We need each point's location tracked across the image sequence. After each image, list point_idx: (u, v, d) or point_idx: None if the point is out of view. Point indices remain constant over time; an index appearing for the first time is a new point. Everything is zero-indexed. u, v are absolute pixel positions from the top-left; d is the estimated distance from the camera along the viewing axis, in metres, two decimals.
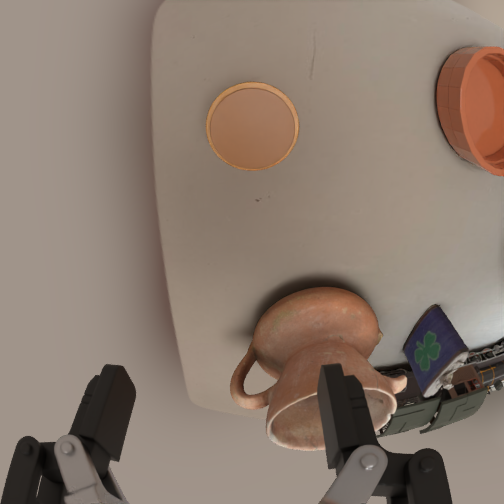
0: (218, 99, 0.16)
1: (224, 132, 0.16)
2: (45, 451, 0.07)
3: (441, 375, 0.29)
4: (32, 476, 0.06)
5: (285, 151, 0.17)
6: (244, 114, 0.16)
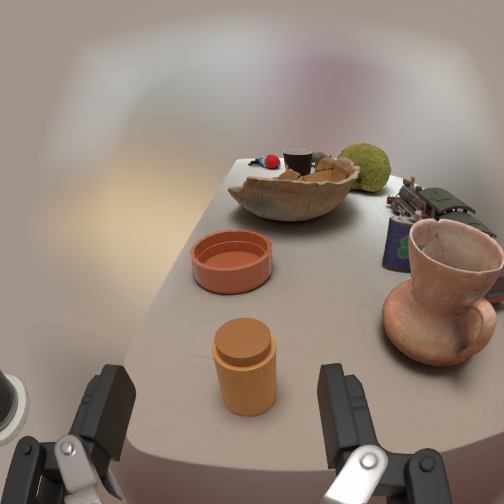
0: (221, 362, 0.24)
1: (243, 350, 0.24)
2: (45, 451, 0.07)
3: None
4: (32, 476, 0.06)
5: (259, 321, 0.27)
6: (232, 340, 0.25)
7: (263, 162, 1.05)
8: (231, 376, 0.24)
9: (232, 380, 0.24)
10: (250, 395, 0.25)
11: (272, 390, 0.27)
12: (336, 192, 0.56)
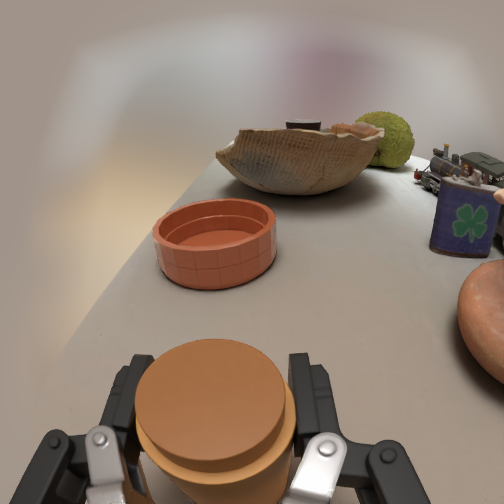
0: (151, 453, 0.08)
1: (205, 435, 0.07)
2: (74, 444, 0.07)
3: (475, 186, 0.26)
4: (55, 471, 0.06)
5: (252, 349, 0.10)
6: (178, 400, 0.08)
7: None
8: (181, 484, 0.07)
9: (186, 488, 0.08)
10: None
11: (282, 485, 0.10)
12: (360, 152, 0.40)
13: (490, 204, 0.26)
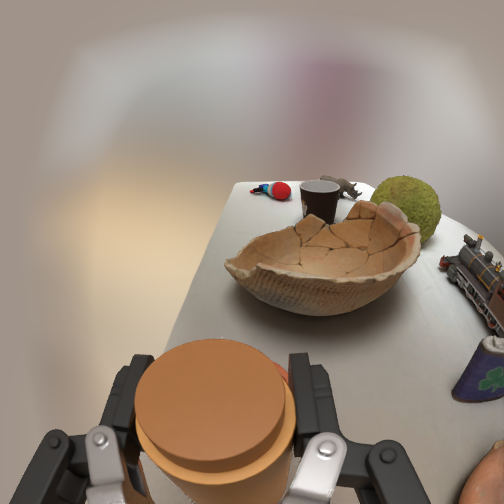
0: (151, 453, 0.08)
1: (205, 435, 0.07)
2: (74, 444, 0.07)
3: None
4: (55, 471, 0.06)
5: (252, 349, 0.10)
6: (178, 400, 0.08)
7: (269, 191, 0.84)
8: (181, 484, 0.07)
9: (186, 488, 0.08)
10: None
11: (282, 485, 0.10)
12: (395, 280, 0.34)
13: None
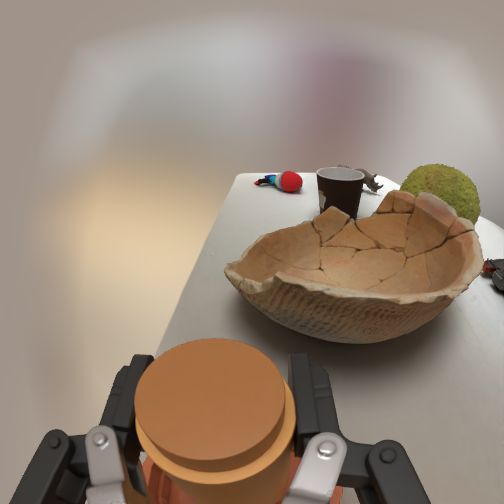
0: (151, 453, 0.08)
1: (205, 435, 0.07)
2: (74, 444, 0.07)
3: None
4: (55, 471, 0.06)
5: (252, 349, 0.10)
6: (178, 400, 0.08)
7: (277, 182, 0.72)
8: (181, 483, 0.07)
9: (186, 488, 0.08)
10: None
11: (282, 484, 0.10)
12: None
13: None
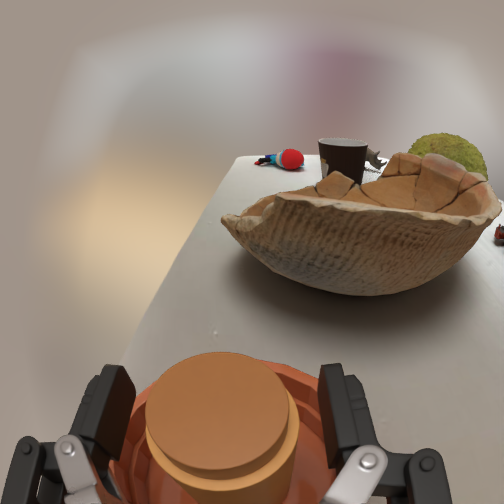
0: (161, 461, 0.08)
1: (213, 446, 0.07)
2: (45, 451, 0.07)
3: None
4: (32, 476, 0.06)
5: (258, 362, 0.10)
6: (187, 412, 0.09)
7: (278, 160, 0.69)
8: (190, 490, 0.08)
9: (194, 494, 0.08)
10: None
11: (285, 489, 0.11)
12: (478, 236, 0.19)
13: None
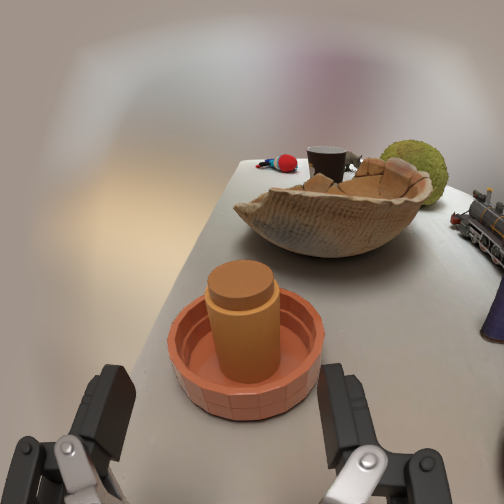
0: (214, 307, 0.21)
1: (240, 290, 0.21)
2: (45, 451, 0.07)
3: None
4: (32, 476, 0.06)
5: (259, 262, 0.23)
6: (227, 280, 0.22)
7: (276, 164, 0.82)
8: (226, 324, 0.21)
9: (228, 330, 0.21)
10: (249, 352, 0.22)
11: (276, 349, 0.24)
12: (410, 214, 0.32)
13: None
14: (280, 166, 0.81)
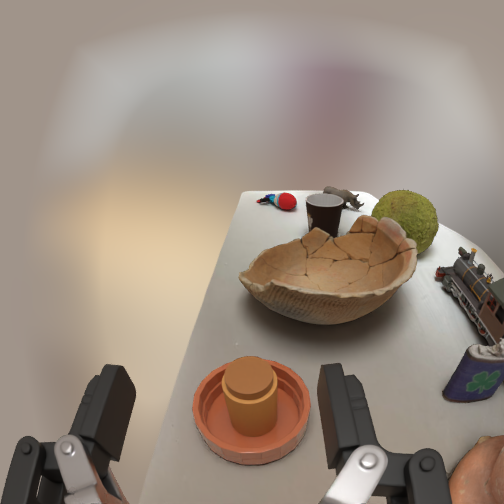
0: (230, 396, 0.27)
1: (249, 387, 0.26)
2: (45, 451, 0.07)
3: (496, 357, 0.25)
4: (32, 476, 0.06)
5: (262, 359, 0.29)
6: (239, 377, 0.28)
7: (276, 202, 0.88)
8: (239, 407, 0.27)
9: (239, 410, 0.27)
10: (254, 421, 0.28)
11: (274, 416, 0.30)
12: (392, 293, 0.39)
13: None
14: (280, 205, 0.87)
